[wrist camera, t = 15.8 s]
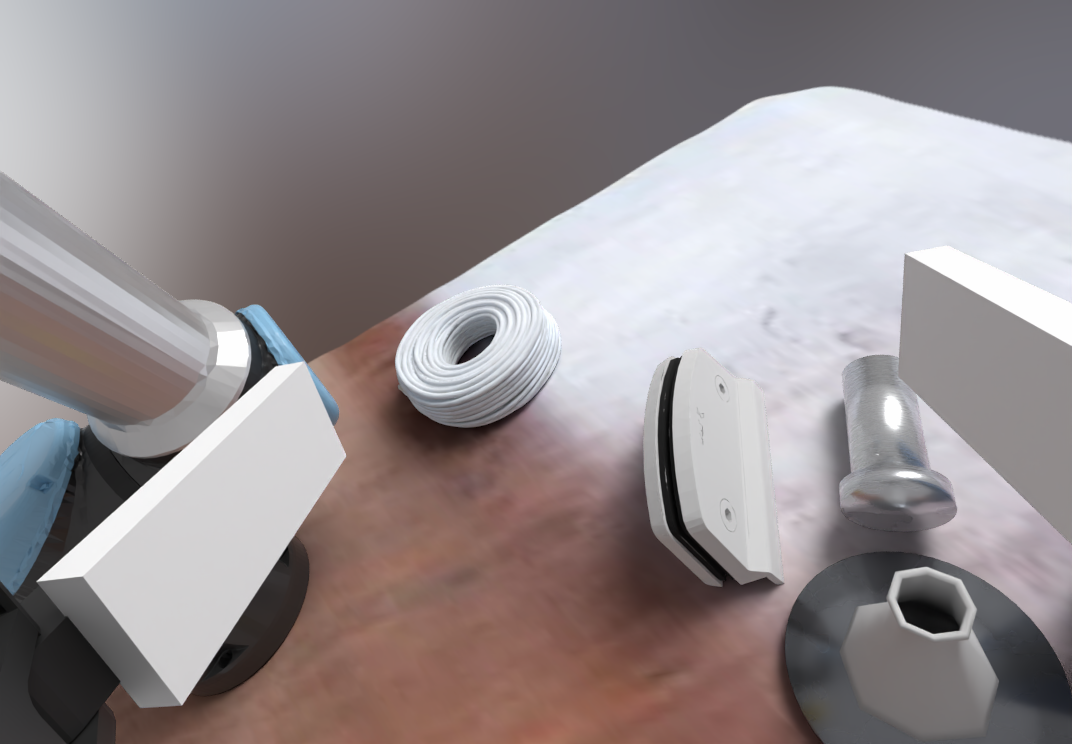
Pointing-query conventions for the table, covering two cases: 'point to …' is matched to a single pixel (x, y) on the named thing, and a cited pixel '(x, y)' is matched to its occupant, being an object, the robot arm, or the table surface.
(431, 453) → the table surface
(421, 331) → the cable
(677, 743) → the table surface
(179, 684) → the robot arm
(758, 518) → the white flat angled piece
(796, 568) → the table surface
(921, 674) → the flask
